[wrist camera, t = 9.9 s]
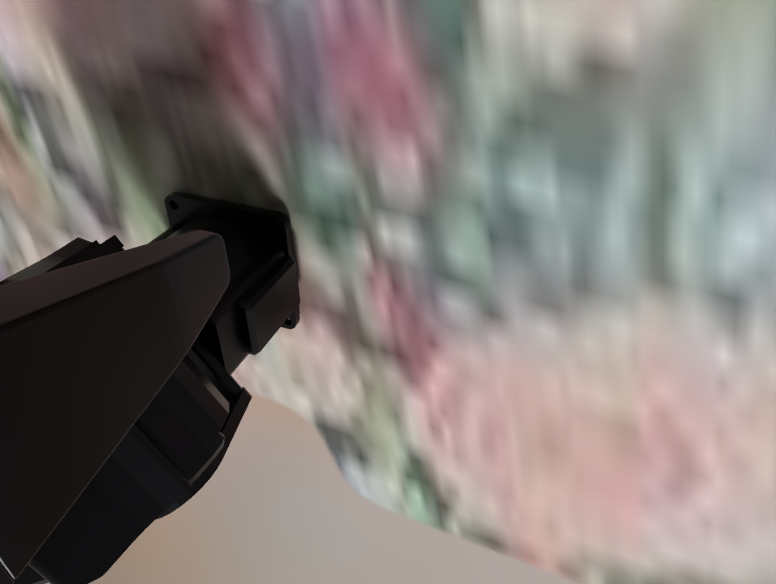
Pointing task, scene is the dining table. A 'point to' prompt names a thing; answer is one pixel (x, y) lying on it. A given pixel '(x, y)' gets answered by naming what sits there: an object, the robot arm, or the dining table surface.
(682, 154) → the dining table surface
